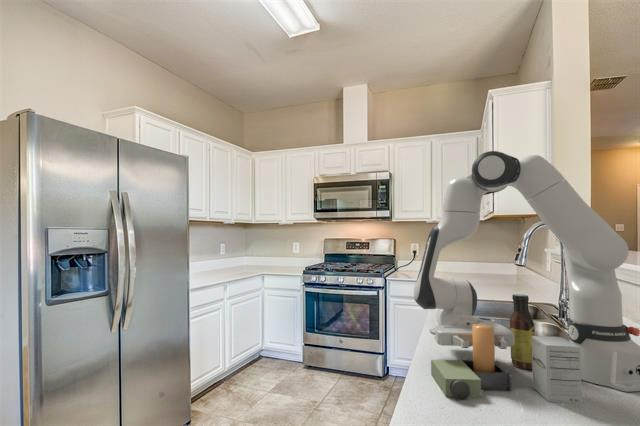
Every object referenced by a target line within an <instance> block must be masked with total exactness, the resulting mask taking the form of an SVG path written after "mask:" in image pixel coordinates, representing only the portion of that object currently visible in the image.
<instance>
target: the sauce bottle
mask: <svg viewBox="0 0 640 426" xmlns="http://www.w3.org/2000/svg"><path fill="white" fill-rule="evenodd" d="M529 299H530V298H529V295H527V294H521V293H513V294H512V301H513V303H512V304H513V312H512V313H511V314H510V316H509V330H511V331H512V332H513V333H514V338H515V343H514V346H512V347H510V359H511V363H512V365H513V366H514V367H516V368H519V369H525V370H532V336H536V330H535V328H536V327H535V323H534V320H533V318H532V314H531V312H530V309H529Z"/></svg>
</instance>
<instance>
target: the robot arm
mask: <svg viewBox="0 0 640 426" xmlns="http://www.w3.org/2000/svg"><path fill="white" fill-rule="evenodd" d="M507 187H512V188H514V189H516V190H517V191H518V192H519V193H520V194H521V195H522V197H523V198H524V199H525V200H526V202H527V203H528V205H529V206H530V208H532V210H533V211H534V212H535V214H536V215H537V216H538V217H539V219H540V220H541V221H542V222H543V224H544V225H545V226H546V227H547V228H548V229H549V230H550V232H552V234H553V235H554V236H555V237H556V238H557V239H558V240H559V241H560V242H561V244H562V245H563V252H564V262H565V263H564V264H565V271H566V272H565V273H566V279H567V285H568V297H569V299H568V300H569V317H568V319H567V327H568V328H567V331H568V337H569V338H568V339H569V341H570V342H572V343H573V344H575V345H577V346H579V347H580V351H581V381H585V382H588V383H592V384H596V385H600V386H603V387H604V386H605V387H608V388H613V389H615V390H618V391H622V392H625V393H626V392H627V393H628V392H640V345H639V344H637V342H635V341H633V340H632V339H631V338H632V337H631V336H630V335H633V336H635V337H640V328H637V327H635V326H629V327H628V326H627V325H625V324H624V323H623V322H624V321H623V320H624V319H623V302H622V301H623V300H622V299H623V298H622V292H621V289H620V287H619V283H618V278H617V274H616V271H615V269H618V268H619V267H621V266H622V265H623V264H625V262H626V261H627V259H628V257H629V254H630V253H629V246H628V244H627V242H626V241H625V239H624V238H623V237H622V236H620V235H619V234H618V233H617V232H616V231H615V230H614V229H613V228H612V226H610V225H609V223H608V222H606V221H605V220H604V219H603V218H602V217H601V216H600V215H599V214H598V213H597V212H596V211H595V210H594V209H593V208H592V207H590V206H589V204H587V203H586V201H585V200H584V199H583V198H582V197H581V196H580V194H579V193H578V192H577V191H576V189H574V187H573V186H572V185H571V184H570V183H569V181H568V180H567V179H566V178H565V177H564V175H562V172H560V171H559V170H558V168H556V167H555V166H554V165H553V164H552V163H550V162H549V161H548V160H547V159H545V158H544V157H543V156H541V155H538V154H537V155H536V154H532V155H531V154H530V155H528V156H524V157H522V158H520V159H518V158H517V157H515V156H512V155H510V154H506V153H505V152H501V151H498V150H497V151H496V150H490V151H485V152H483V153H481V154H480V155H478V156H477V157H476V158H475V160H474V161H473V163H472V166H471V173H470V174H469V175H468V176H460V177H455V178H453V179H451V180H449V182H448V183H447V185H446V189H445V193H444V198H443V202H442V203H443V204H442V213H441V218H440V220H439V222H438V224H437V225H436V226H434V227H432V228H431V230H430V232H429V234H428V236H427V241H426V244H425V248H424V252H423V256H422V260H421V265H420V269H419V272H418V275H417V278H416V281H415V284H414V287H413V299H414V301H415V303H417V305H418V306H419V307H420V308H421V309H423V310H437V311H436V316H435V317H436V322H437V324H438V325H435V326H434V328H431V329H429V333H430V334H431V335H433V336H434V339H435V342H436V344H437V345H440V346H451V347H452V346H453V347H455V346H456V347H457V346H458V347H461V349H469V347H470V348H471V347H473V336H472V325H473V324H487V325H491V326H493V327H494V347H497V348H499V349H500V350H507V349H508V347H509V348H511V347H512V346H514V343H515V338H514V333H513V332H512V331H511V330H510V328H508V327H506V326H504V325H502V324H500V323H497V320H496V319H493V318H486V317H481V316H480V317H478V316H475V315H474V314H475V313H476V310H477V309H478V308H477V307H478V295H477V294H478V293H477V291H476V289H475V288H474V286H473V285H472V283H471V282H470V281H469V280H467V279H464V278H463V279H461V278H447V277H446V278H445V277H442V278H441V277H435V274H436V273H435V272H436V270H437V265H438V261H439V256H440V253H441V251H443V249H444V248H446V247H448V246H450V245H453V244H456V243H459V242H460V243H461V242H463V241H465V240H467V239H469V238H471V237H472V236H474V235H475V234H476V233H477V231H478V230H479V226H480V223H481V222H480V221H481V220H480V219H481V208H482V207H481V203H482V199H483V196H485V195H491V194H496V193H498V192H501V191H503V190H505V189H506V188H507Z"/></svg>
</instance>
